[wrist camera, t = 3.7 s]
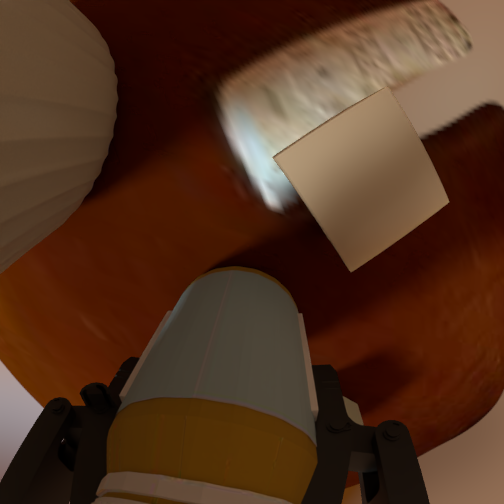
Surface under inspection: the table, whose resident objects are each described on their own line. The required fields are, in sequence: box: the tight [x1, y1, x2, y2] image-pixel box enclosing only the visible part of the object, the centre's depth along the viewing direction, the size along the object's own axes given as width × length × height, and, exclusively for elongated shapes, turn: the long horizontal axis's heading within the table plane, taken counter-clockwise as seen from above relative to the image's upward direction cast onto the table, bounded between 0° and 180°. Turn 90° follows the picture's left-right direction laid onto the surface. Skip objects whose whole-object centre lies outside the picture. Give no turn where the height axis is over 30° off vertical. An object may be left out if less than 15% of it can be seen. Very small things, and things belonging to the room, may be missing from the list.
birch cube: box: [272, 86, 449, 272], centre depth 12 cm, size 5×5×5 cm
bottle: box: [91, 266, 318, 504], centre depth 10 cm, size 7×7×15 cm
